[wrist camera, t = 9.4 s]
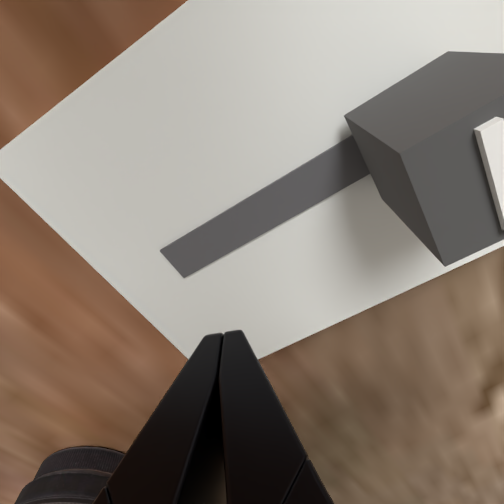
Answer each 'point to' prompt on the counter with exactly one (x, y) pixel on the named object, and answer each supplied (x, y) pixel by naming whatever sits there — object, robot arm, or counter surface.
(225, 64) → the panel
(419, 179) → the slider
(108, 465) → the camera lens
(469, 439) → the counter surface
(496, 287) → the counter surface
